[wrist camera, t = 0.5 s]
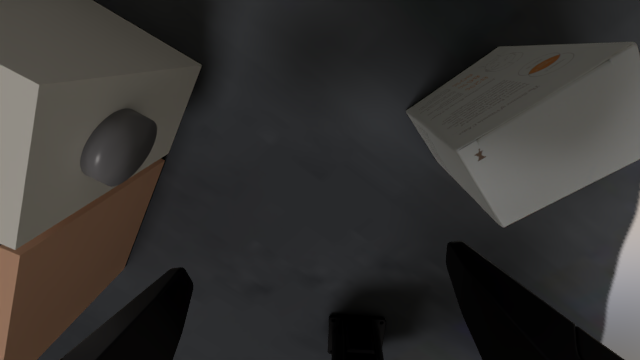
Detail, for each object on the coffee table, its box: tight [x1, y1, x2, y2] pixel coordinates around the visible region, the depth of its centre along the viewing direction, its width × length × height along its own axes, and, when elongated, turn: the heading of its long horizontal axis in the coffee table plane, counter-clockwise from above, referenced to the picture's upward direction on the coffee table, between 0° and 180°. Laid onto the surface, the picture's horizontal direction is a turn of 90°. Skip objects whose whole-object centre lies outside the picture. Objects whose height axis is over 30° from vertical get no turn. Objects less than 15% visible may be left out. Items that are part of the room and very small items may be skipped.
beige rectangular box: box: [0, 0, 202, 250], centre depth 17 cm, size 10×9×14 cm
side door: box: [0, 159, 165, 360], centre depth 22 cm, size 1×15×13 cm, turn 149°
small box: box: [406, 42, 640, 228], centre depth 18 cm, size 8×6×10 cm
